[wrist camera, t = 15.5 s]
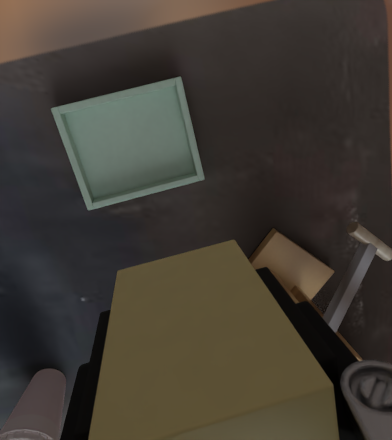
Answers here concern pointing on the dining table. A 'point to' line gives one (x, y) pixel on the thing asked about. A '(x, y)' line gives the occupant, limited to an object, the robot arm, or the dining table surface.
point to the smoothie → (38, 409)
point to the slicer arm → (355, 272)
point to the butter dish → (130, 142)
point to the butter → (206, 357)
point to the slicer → (294, 270)
